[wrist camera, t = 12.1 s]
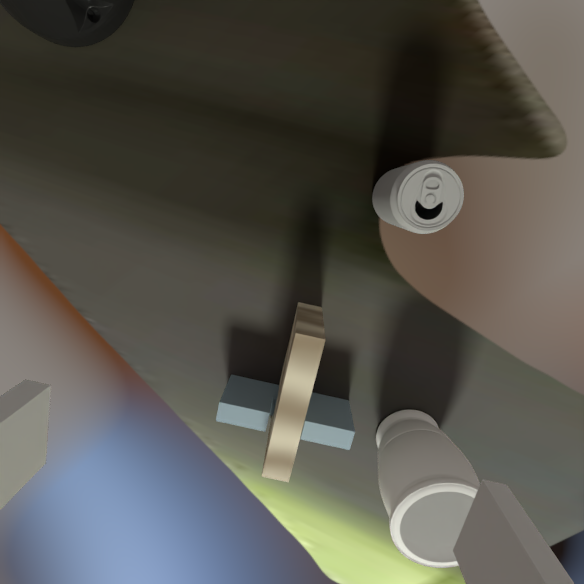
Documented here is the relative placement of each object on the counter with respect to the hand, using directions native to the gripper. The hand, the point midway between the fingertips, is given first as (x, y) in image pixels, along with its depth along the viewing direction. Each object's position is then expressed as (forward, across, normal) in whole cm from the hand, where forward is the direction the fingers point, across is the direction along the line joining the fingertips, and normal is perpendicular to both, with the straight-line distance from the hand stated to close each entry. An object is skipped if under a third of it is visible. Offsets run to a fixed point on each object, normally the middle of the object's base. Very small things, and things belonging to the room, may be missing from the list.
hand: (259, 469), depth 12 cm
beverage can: (+37, +10, +10) cm, 40 cm away
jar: (+37, +20, -20) cm, 46 cm away
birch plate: (+37, +3, -14) cm, 39 cm away
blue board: (+37, +3, -18) cm, 41 cm away
